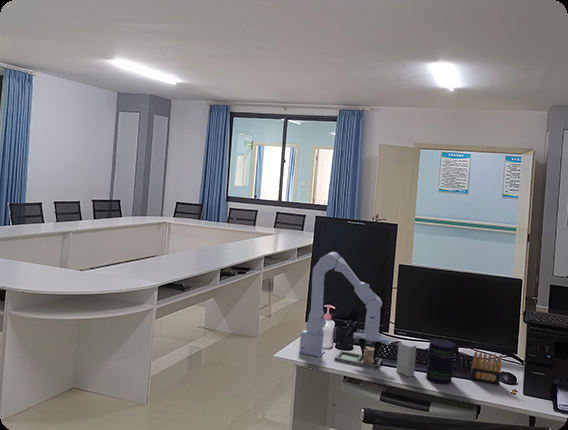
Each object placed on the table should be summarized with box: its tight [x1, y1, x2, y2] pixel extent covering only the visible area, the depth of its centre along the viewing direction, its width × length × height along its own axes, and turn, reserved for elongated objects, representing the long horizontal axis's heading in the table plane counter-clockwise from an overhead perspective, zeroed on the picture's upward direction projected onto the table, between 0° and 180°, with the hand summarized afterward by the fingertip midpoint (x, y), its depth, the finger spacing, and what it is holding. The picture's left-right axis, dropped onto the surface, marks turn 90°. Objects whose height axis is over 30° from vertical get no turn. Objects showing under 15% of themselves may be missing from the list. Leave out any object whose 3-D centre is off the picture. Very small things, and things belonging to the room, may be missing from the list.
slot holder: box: [334, 350, 383, 370], centre depth 217 cm, size 18×10×1 cm, turn 69°
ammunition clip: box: [470, 350, 502, 386], centre depth 205 cm, size 11×2×12 cm, turn 72°
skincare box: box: [395, 341, 417, 377], centre depth 207 cm, size 6×4×12 cm
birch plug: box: [362, 346, 375, 365], centre depth 215 cm, size 4×4×6 cm
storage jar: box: [425, 338, 456, 386], centre depth 203 cm, size 10×10×15 cm
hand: (368, 358), depth 215 cm, fingers closed on birch plug, 4 cm apart
